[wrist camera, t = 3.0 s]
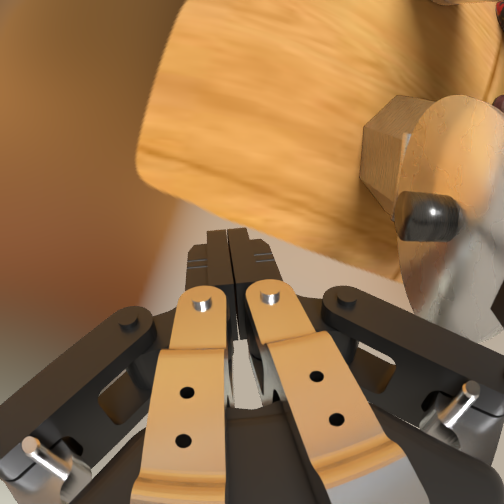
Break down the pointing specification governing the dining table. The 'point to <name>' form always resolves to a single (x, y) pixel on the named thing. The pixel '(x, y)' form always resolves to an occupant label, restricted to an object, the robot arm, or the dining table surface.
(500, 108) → the can
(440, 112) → the lid
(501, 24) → the deodorant
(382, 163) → the pot
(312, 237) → the dining table surface
